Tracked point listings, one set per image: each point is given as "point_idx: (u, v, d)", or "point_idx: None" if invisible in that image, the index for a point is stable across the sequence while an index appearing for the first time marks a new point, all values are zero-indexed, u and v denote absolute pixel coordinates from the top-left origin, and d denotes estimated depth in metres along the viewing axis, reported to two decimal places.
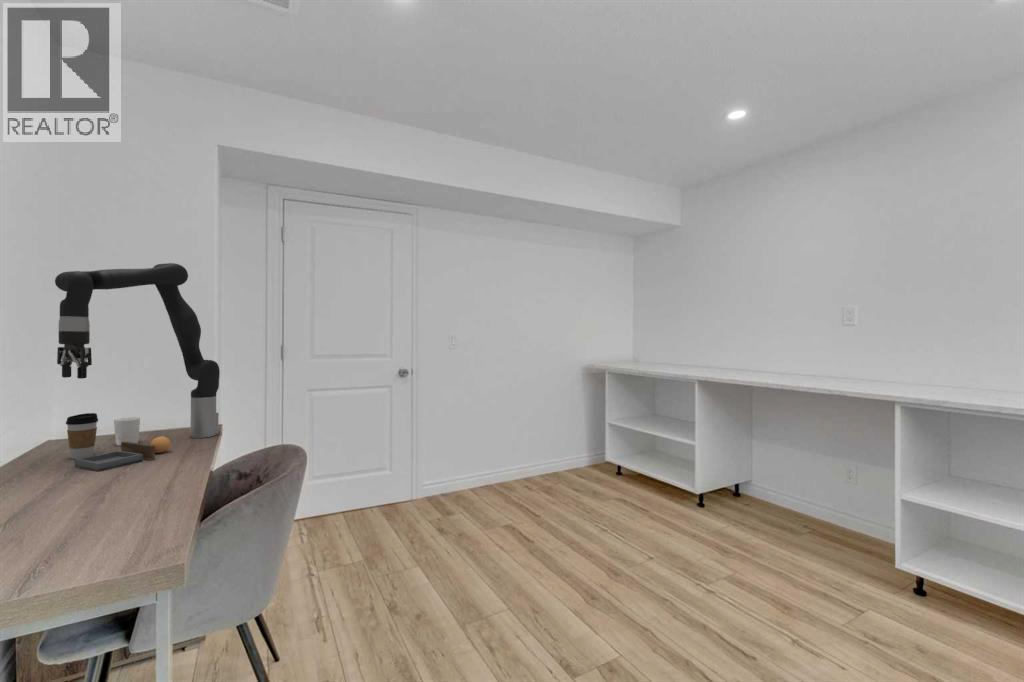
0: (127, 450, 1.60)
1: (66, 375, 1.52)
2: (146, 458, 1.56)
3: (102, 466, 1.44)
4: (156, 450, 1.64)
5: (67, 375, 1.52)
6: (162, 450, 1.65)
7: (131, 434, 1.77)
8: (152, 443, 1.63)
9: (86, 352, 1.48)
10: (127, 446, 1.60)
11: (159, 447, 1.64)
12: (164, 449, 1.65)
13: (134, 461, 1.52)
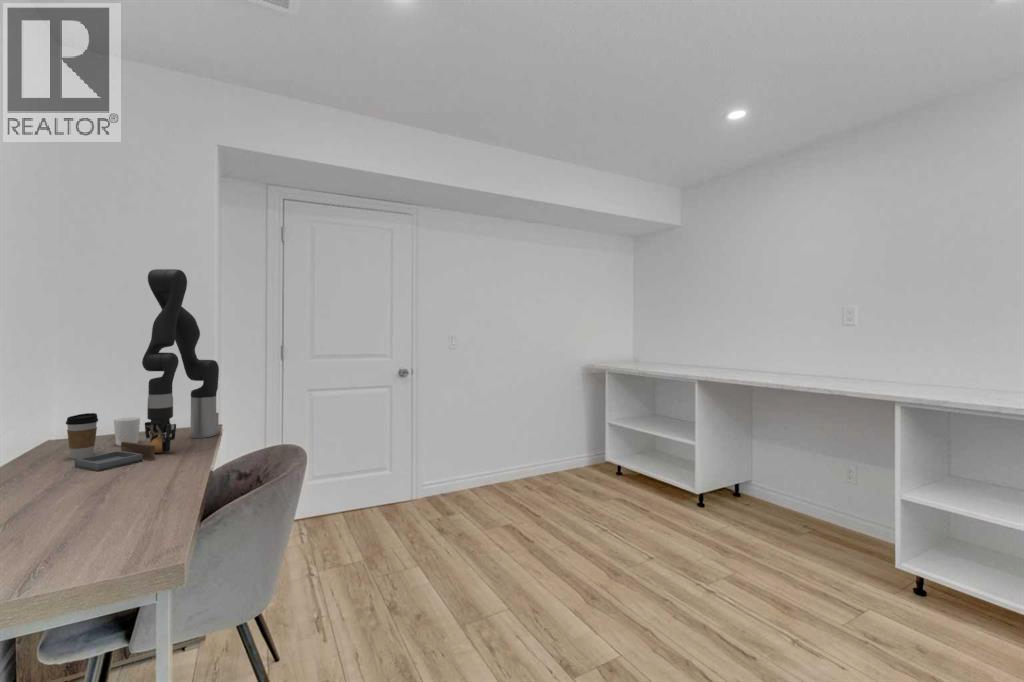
0: (127, 450, 1.60)
1: None
2: (146, 458, 1.56)
3: (102, 466, 1.44)
4: (156, 450, 1.64)
5: None
6: None
7: (131, 434, 1.77)
8: (152, 443, 1.63)
9: (172, 429, 1.64)
10: (127, 446, 1.60)
11: (159, 447, 1.64)
12: None
13: (134, 461, 1.52)
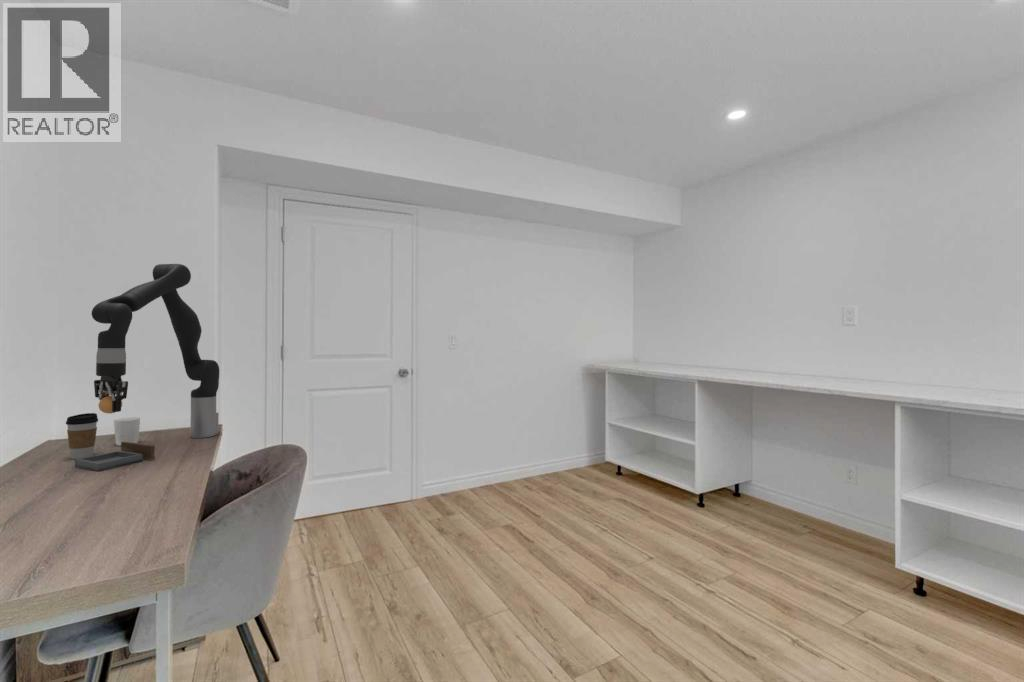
0: (127, 450, 1.60)
1: None
2: (146, 458, 1.56)
3: (102, 466, 1.44)
4: (105, 410, 1.48)
5: None
6: None
7: (131, 434, 1.77)
8: (101, 402, 1.48)
9: (123, 386, 1.49)
10: (127, 446, 1.60)
11: (109, 406, 1.48)
12: None
13: (134, 461, 1.52)
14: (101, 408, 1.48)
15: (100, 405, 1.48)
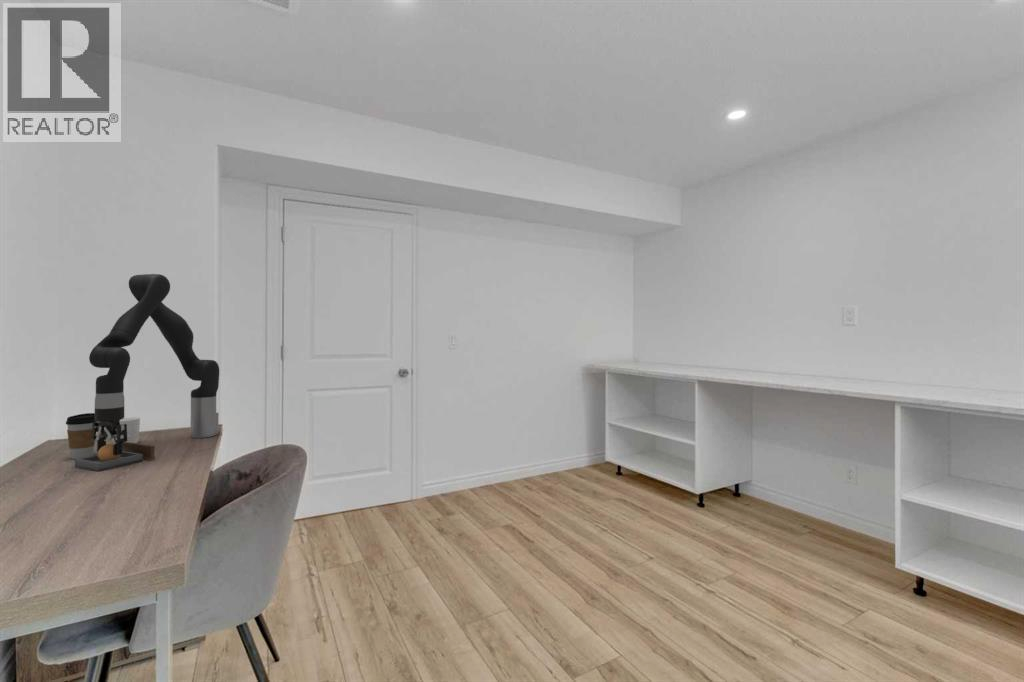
0: (127, 450, 1.60)
1: None
2: (146, 458, 1.56)
3: (102, 466, 1.44)
4: (104, 459, 1.48)
5: None
6: (111, 459, 1.50)
7: (131, 434, 1.77)
8: (100, 451, 1.48)
9: (122, 429, 1.48)
10: (127, 446, 1.60)
11: (107, 455, 1.48)
12: (113, 458, 1.50)
13: (134, 461, 1.52)
14: (100, 457, 1.48)
15: (99, 454, 1.48)
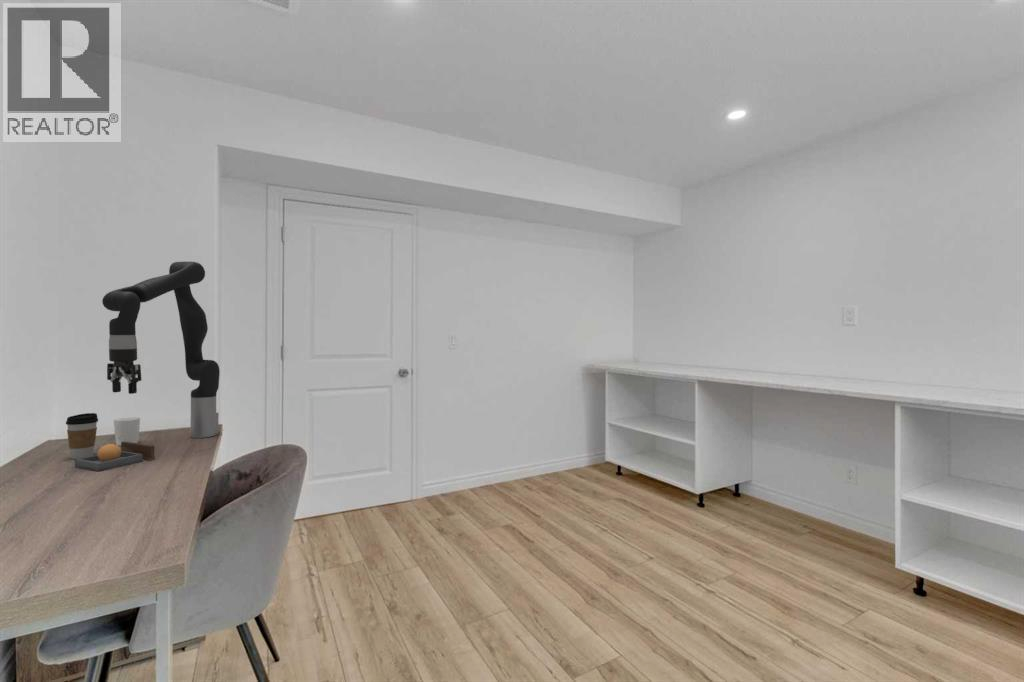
0: (127, 450, 1.60)
1: (116, 390, 1.60)
2: (146, 458, 1.56)
3: (102, 466, 1.44)
4: (104, 459, 1.48)
5: (117, 390, 1.60)
6: (111, 459, 1.50)
7: (131, 434, 1.77)
8: (99, 451, 1.48)
9: (136, 369, 1.56)
10: (127, 446, 1.60)
11: (107, 455, 1.48)
12: (113, 458, 1.50)
13: (134, 461, 1.52)
14: (100, 457, 1.48)
15: (99, 454, 1.48)
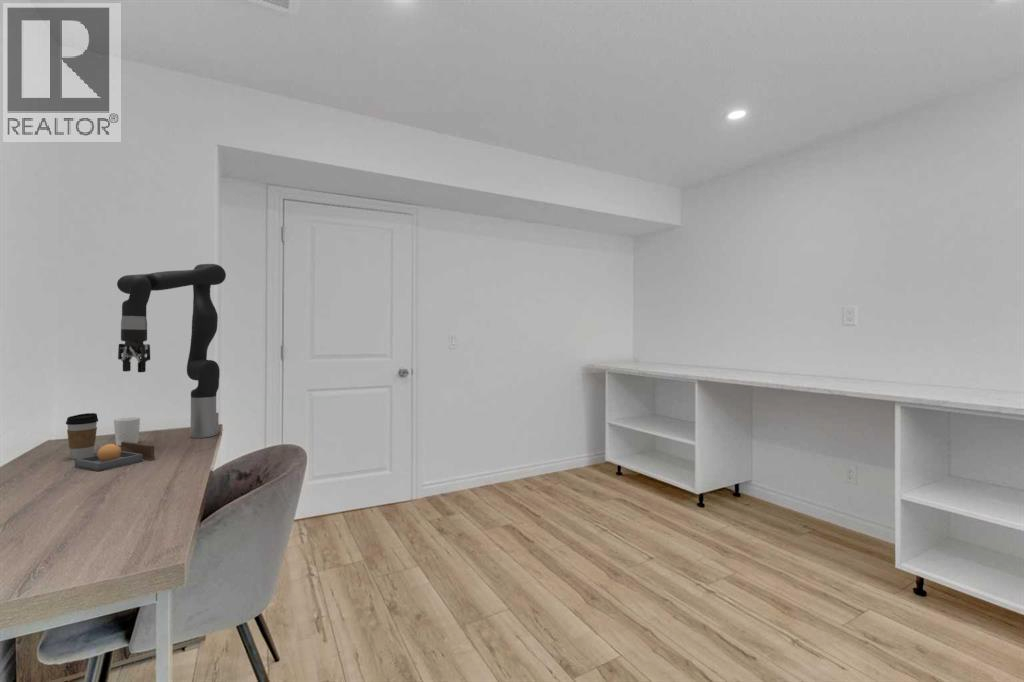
0: (127, 450, 1.60)
1: (126, 369, 1.67)
2: (146, 458, 1.56)
3: (102, 466, 1.44)
4: (104, 459, 1.48)
5: (127, 369, 1.68)
6: (111, 459, 1.50)
7: (131, 434, 1.77)
8: (99, 451, 1.48)
9: (146, 348, 1.64)
10: (127, 446, 1.60)
11: (107, 455, 1.48)
12: (113, 458, 1.50)
13: (134, 461, 1.52)
14: (100, 457, 1.48)
15: (99, 454, 1.48)
